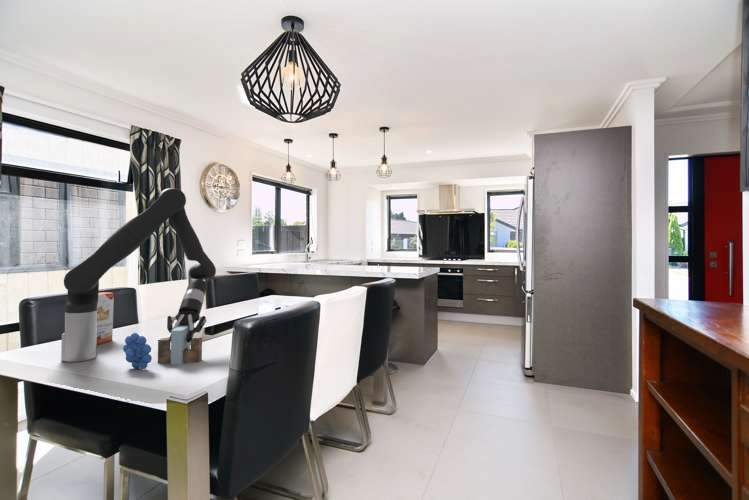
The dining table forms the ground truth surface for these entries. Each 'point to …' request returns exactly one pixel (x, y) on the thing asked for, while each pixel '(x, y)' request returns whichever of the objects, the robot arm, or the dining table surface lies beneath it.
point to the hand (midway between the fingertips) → (180, 341)
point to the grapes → (137, 351)
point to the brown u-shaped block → (188, 354)
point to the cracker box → (105, 317)
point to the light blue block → (179, 344)
